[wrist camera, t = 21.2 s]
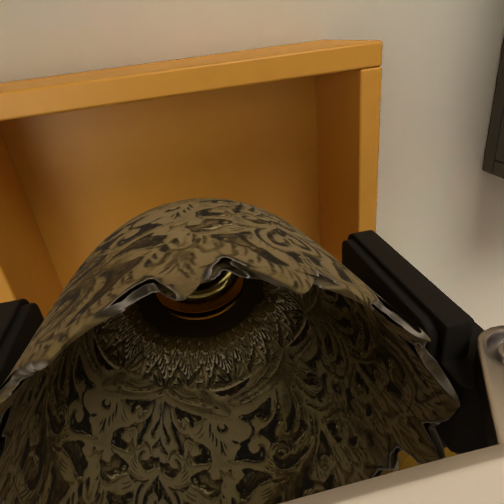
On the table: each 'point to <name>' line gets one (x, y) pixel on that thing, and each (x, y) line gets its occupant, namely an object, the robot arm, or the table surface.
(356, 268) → the robot arm
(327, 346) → the cup
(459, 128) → the table surface
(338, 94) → the ochre bin
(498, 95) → the charcoal bin
